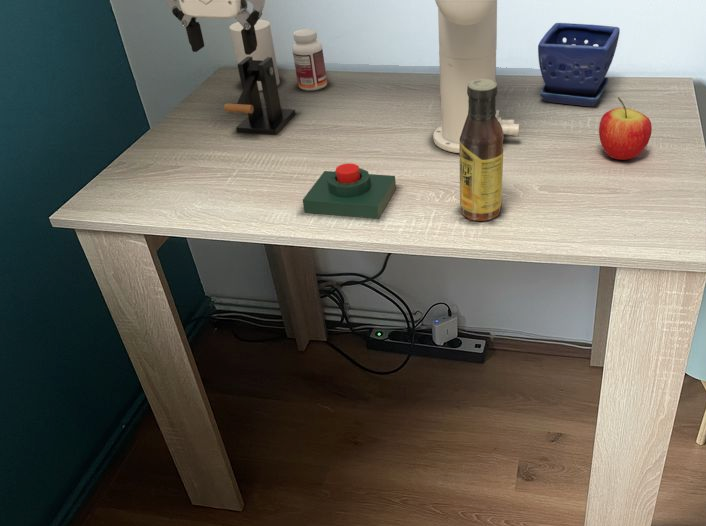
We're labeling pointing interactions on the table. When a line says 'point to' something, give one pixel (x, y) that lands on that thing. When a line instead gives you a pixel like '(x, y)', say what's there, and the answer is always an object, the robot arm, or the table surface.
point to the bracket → (272, 115)
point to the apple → (624, 132)
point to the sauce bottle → (481, 154)
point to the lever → (246, 91)
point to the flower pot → (576, 62)
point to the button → (348, 173)
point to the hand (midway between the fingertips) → (224, 50)
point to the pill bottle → (309, 60)
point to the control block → (350, 195)
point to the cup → (263, 45)
